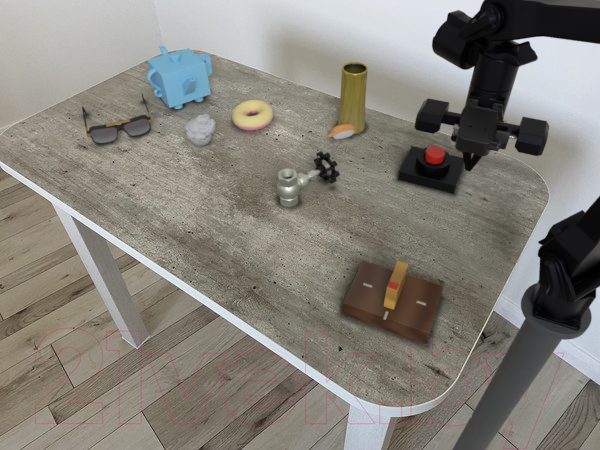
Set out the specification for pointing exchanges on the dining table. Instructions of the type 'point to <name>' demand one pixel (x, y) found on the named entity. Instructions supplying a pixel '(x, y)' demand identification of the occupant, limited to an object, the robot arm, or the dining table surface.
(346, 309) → the panel
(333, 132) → the sushi
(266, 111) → the donut
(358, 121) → the vase
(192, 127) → the grey lumpy blob
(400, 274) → the lock knob
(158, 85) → the teapot
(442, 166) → the button box
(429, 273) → the dining table surface
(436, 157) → the button
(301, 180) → the valve
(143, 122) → the sunglasses
